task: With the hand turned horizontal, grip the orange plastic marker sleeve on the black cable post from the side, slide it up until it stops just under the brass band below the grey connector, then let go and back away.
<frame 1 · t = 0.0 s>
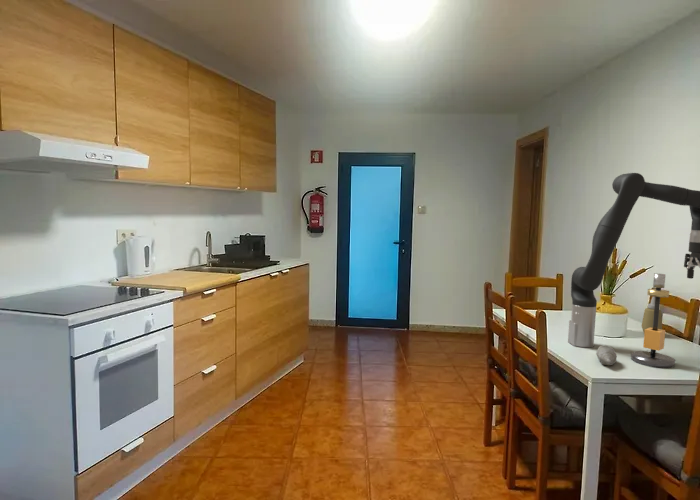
hand: (696, 280, 192), 29 cm above the table, fingers open, 8 cm apart
squeeze bottle: (650, 335, 215), on the table
grey stone: (606, 364, 174), on the table
marker sleeve: (654, 338, 176), point 9 cm above the table, slide at 0.0 cm
cable post: (652, 361, 177), on the table
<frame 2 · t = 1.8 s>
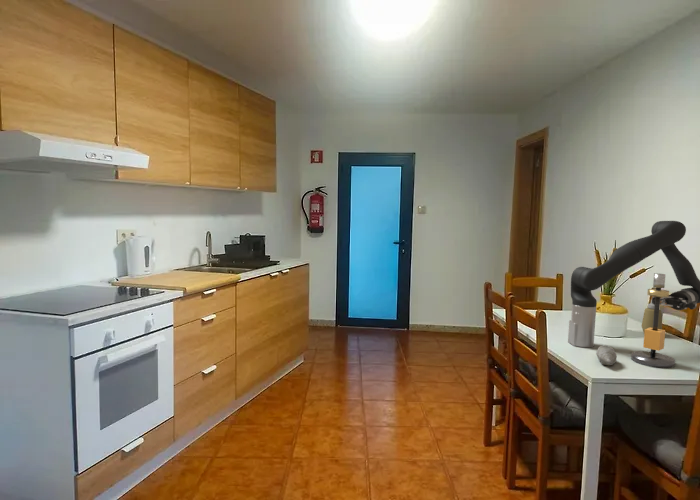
hand: (667, 304, 182), 21 cm above the table, fingers open, 8 cm apart
nothing on the table moved.
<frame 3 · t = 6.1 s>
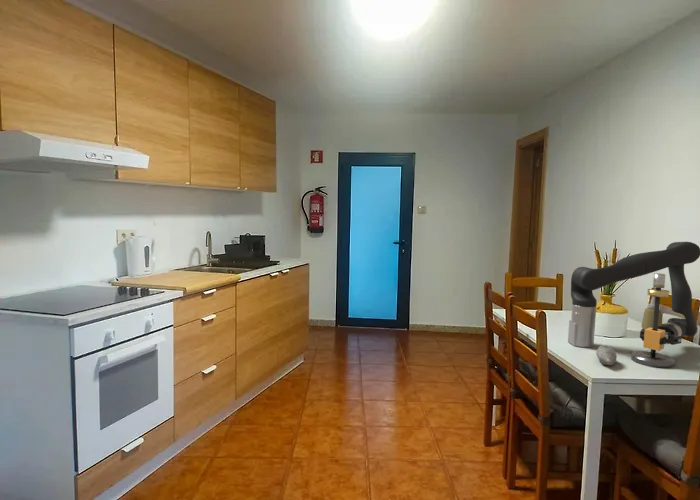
hand: (651, 340, 174), 9 cm above the table, fingers closed on marker sleeve, 5 cm apart
marker sleeve: (654, 338, 176), point 9 cm above the table, slide at 0.0 cm, touching gripper
everything else where it was.
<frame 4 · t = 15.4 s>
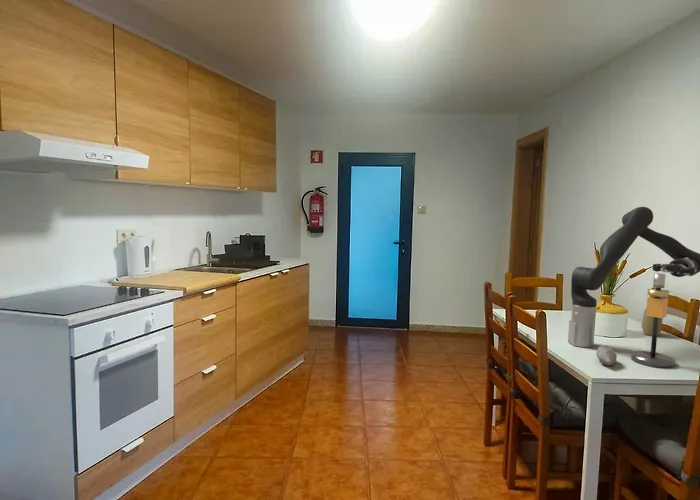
hand: (668, 270, 185), 34 cm above the table, fingers open, 8 cm apart
marker sleeve: (657, 306, 175), point 21 cm above the table, slide at 12.5 cm
everything else where it was.
at the end: marker sleeve slide at 12.5 cm; the gripper is holding nothing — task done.
